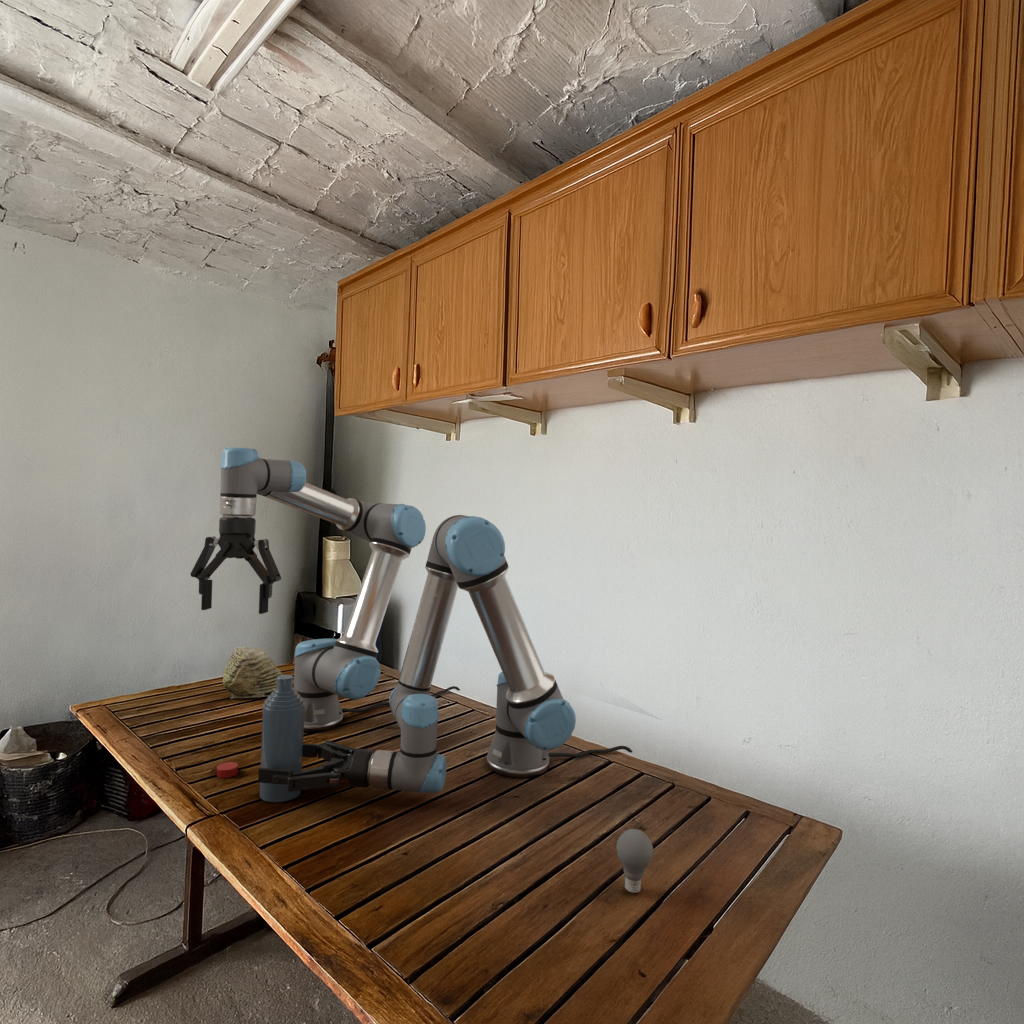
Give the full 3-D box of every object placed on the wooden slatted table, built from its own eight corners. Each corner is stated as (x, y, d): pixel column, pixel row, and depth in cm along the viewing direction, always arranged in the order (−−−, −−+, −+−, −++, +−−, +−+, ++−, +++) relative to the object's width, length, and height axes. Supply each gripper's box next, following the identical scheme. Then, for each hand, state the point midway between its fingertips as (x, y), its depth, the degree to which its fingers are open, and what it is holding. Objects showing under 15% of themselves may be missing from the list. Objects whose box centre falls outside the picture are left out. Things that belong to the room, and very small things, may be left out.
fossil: (218, 695, 195) (220, 647, 195) (278, 685, 208) (279, 640, 207) (228, 703, 189) (230, 653, 188) (289, 692, 201) (290, 645, 201)
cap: (218, 779, 140) (219, 771, 140) (214, 772, 143) (214, 764, 143) (240, 775, 142) (240, 767, 142) (235, 767, 146) (235, 760, 146)
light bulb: (610, 879, 108) (613, 822, 108) (644, 879, 109) (647, 822, 109) (619, 902, 102) (622, 840, 102) (655, 901, 103) (658, 840, 103)
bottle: (250, 797, 132) (254, 679, 132) (277, 781, 140) (281, 669, 140) (283, 805, 129) (288, 684, 129) (309, 788, 137) (313, 674, 137)
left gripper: (175, 514, 140) (172, 610, 140) (282, 519, 137) (279, 617, 137) (196, 513, 147) (193, 604, 147) (298, 518, 144) (295, 611, 145)
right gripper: (351, 815, 121) (244, 806, 122) (387, 762, 146) (297, 755, 147) (353, 776, 121) (246, 768, 122) (388, 730, 146) (299, 723, 147)
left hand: (234, 611), depth 142 cm, fingers open, 13 cm apart
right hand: (274, 761), depth 135 cm, fingers open, 13 cm apart
